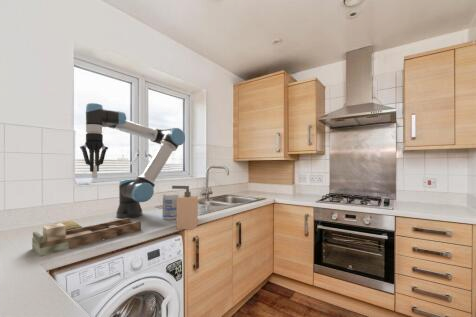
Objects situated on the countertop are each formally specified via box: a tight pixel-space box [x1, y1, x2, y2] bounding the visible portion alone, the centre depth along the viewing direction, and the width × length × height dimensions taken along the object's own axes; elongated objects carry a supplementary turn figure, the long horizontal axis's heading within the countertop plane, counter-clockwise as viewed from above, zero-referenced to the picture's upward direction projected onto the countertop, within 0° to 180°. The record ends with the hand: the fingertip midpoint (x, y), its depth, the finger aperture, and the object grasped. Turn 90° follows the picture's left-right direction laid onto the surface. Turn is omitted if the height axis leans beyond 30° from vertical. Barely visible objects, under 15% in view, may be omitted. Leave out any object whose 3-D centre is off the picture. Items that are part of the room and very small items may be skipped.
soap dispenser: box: [171, 185, 199, 231], centre depth 123 cm, size 13×9×22 cm
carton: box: [55, 220, 83, 231], centre depth 114 cm, size 8×16×4 cm, turn 50°
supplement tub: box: [162, 192, 180, 221], centre depth 142 cm, size 10×10×15 cm
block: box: [42, 222, 66, 242], centre depth 94 cm, size 6×6×6 cm
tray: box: [31, 218, 142, 257], centre depth 106 cm, size 40×12×7 cm, turn 142°
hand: (94, 177), depth 122 cm, fingers closed
